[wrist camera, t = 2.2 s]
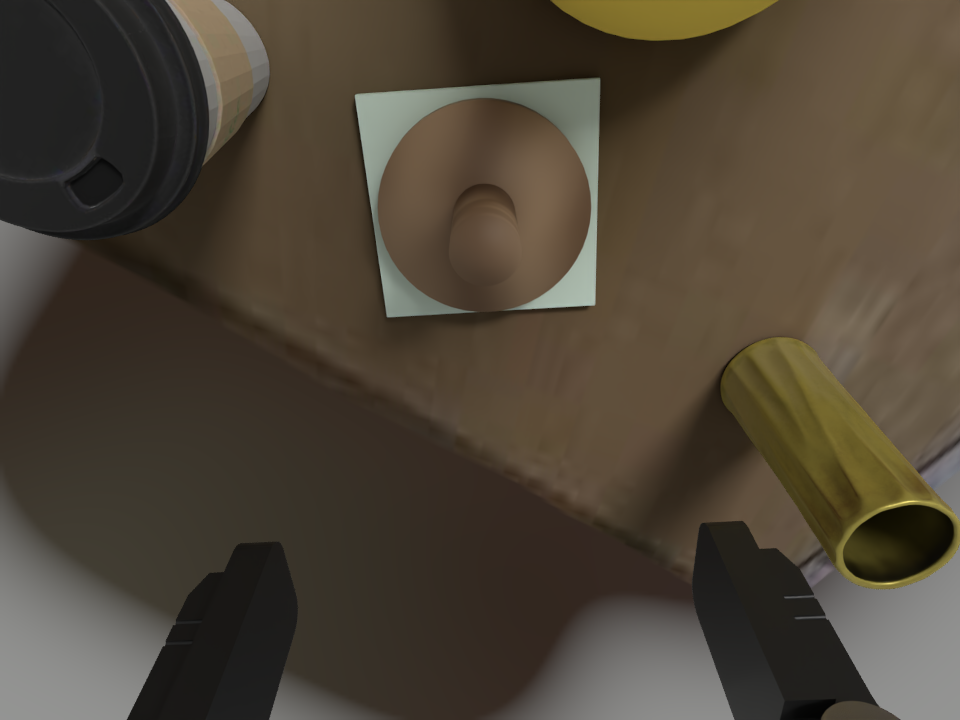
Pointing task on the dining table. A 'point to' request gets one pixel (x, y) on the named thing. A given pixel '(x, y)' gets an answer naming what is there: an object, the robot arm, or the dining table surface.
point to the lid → (484, 205)
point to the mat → (399, 111)
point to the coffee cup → (117, 107)
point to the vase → (839, 467)
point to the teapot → (661, 16)
